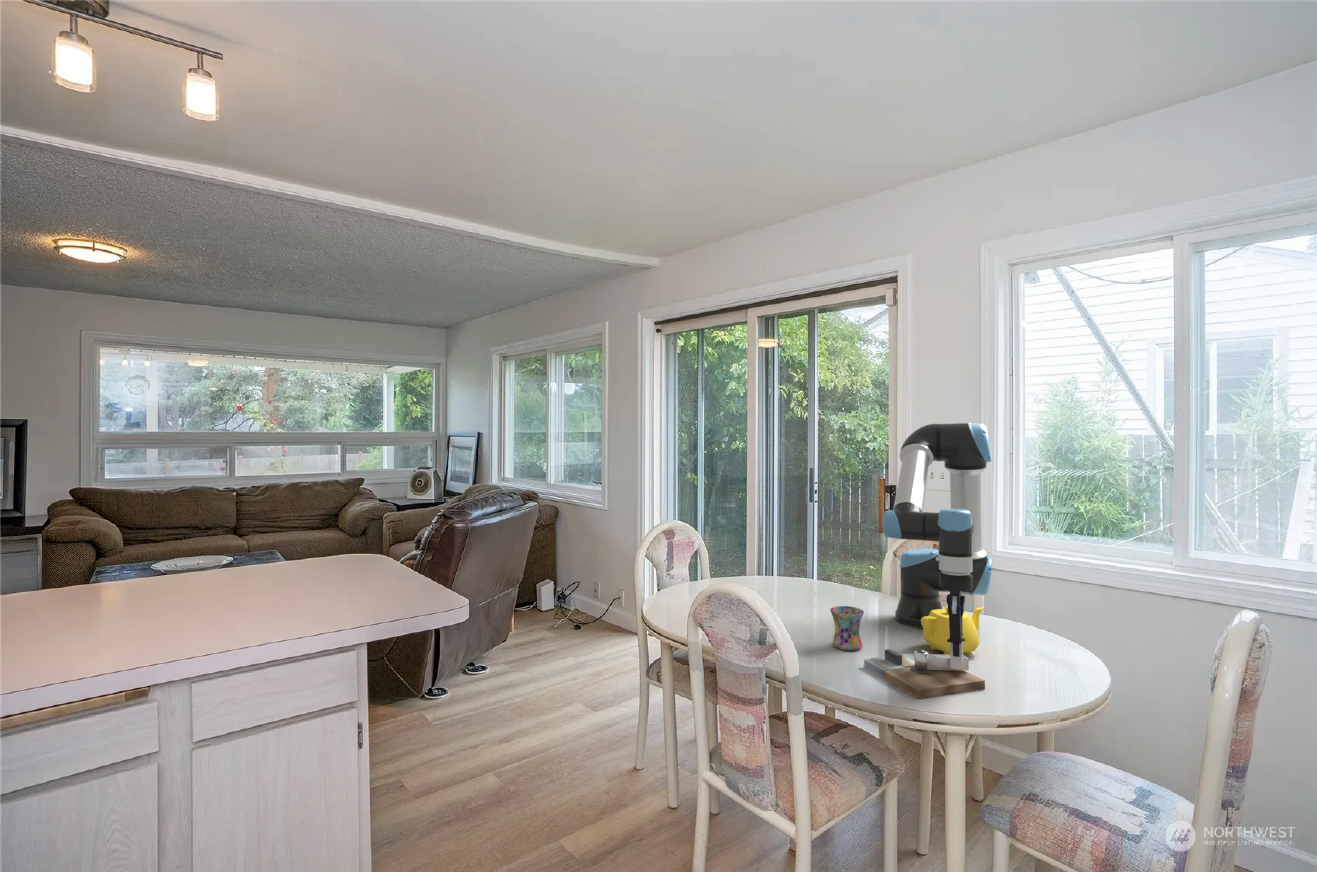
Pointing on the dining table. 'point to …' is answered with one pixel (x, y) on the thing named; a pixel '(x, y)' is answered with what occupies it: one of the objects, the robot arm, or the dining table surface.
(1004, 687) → the dining table surface
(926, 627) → the teapot
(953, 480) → the robot arm
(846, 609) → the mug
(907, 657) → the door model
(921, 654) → the latch bar
